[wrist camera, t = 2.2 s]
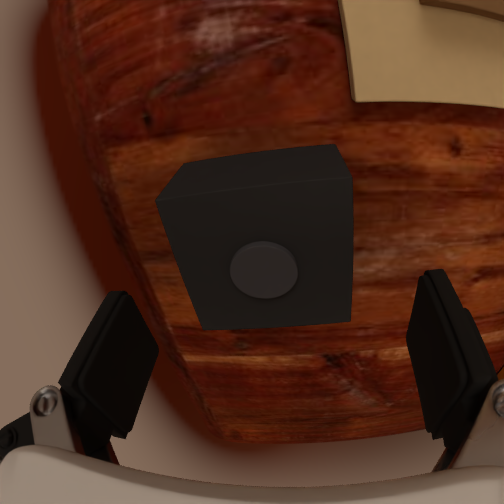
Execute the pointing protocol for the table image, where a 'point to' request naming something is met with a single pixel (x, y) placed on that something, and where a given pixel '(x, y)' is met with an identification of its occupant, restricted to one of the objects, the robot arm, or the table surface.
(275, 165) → the black square block
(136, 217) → the table surface
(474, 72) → the base pad
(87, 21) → the table surface
